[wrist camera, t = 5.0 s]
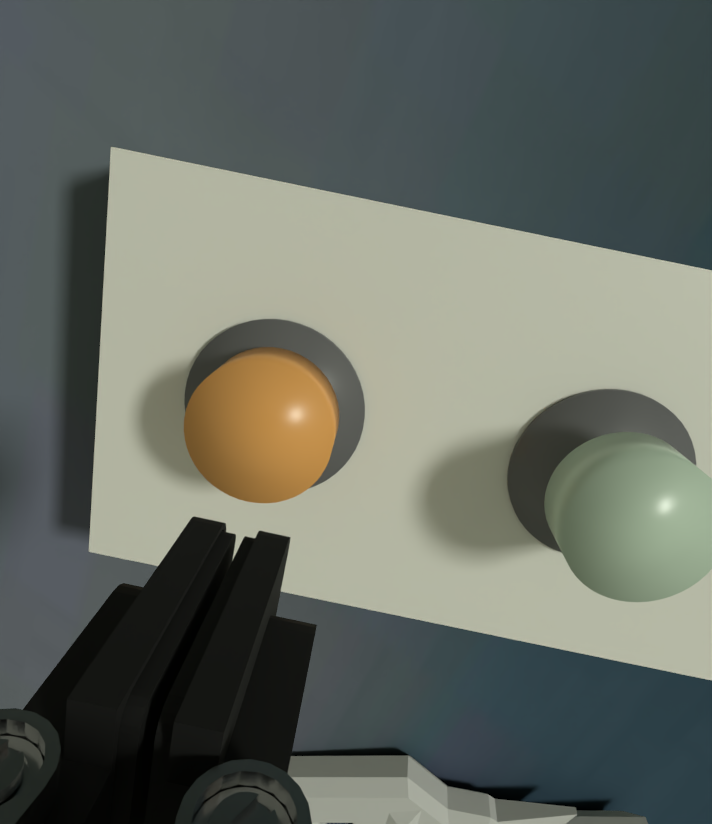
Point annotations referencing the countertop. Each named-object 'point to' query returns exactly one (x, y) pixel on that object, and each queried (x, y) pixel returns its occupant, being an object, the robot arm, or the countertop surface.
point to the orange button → (262, 425)
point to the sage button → (631, 517)
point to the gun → (416, 796)
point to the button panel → (398, 396)
